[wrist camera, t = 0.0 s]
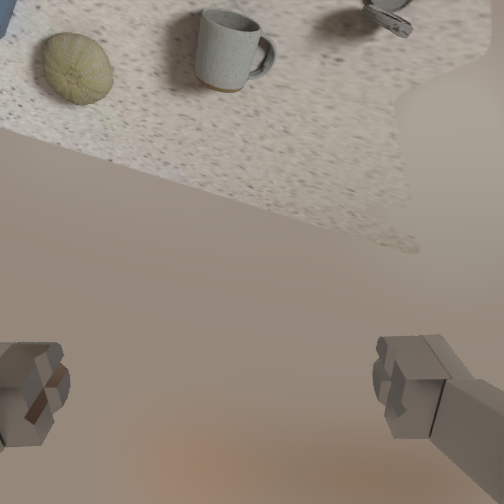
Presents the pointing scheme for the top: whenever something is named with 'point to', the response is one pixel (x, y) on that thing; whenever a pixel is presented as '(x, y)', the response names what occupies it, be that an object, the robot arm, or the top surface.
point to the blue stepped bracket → (5, 14)
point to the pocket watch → (389, 15)
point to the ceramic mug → (229, 50)
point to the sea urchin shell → (77, 68)
